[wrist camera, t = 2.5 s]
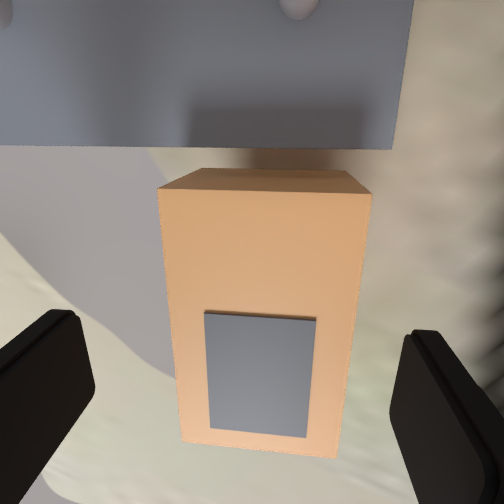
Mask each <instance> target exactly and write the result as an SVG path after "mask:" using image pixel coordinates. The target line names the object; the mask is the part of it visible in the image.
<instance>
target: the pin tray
mask: <svg viewBox="0 0 504 504" xmlns="http://www.w3.org/2000/svg"><path fill="white" fill-rule="evenodd" d="M413 5H414V0H0V145H35V146H127V147H128V146H129V147H212V148H301V149H391V150H392V145H393V139H394V132H395V125H396V119H397V112H398V105H399V99H400V92H401V85H402V78H403V72H404V65H405V58H406V52H407V45H408V38H409V31H410V25H411V18H412V11H413Z"/></svg>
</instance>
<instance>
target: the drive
mask: <svg viewBox="0 0 504 504" xmlns="http://www.w3.org/2000/svg"><path fill="white" fill-rule="evenodd" d="M157 193H158V203H159V214H160V223H161V234H162V244H163V254H164V264H165V274H166V284H167V294H168V304H169V315H170V325H171V334H172V345H173V355H174V364H175V375H176V385H177V395H178V405H179V415H180V425H181V435H182V442H191V443H200V444H209V445H218V446H227V447H236V448H245V449H254V450H263V451H272V452H281V453H290V454H299V455H308V456H317V457H326V458H335V459H337V453H338V445H339V438H340V430H341V423H342V416H343V408H344V401H345V393H346V386H347V378H348V371H349V364H350V356H351V349H352V341H353V334H354V327H355V319H356V312H357V304H358V297H359V290H360V282H361V275H362V267H363V260H364V253H365V245H366V238H367V230H368V223H369V215H370V208H371V201H372V193H371V192H369V191H368V190H367V189H366V188H365V187H364V186H362V185H361V184H360V183H359V182H358V181H357V180H356V179H354V178H353V177H352V176H351V175H350V174H349V173H347V172H346V171H338V170H283V169H228V168H201V169H199V170H197V171H194V172H192V173H190V174H188V175H186V176H183V177H181V178H179V179H177V180H175V181H173V182H170V183H168V184H166V185H164V186H162V187H159V188H157Z"/></svg>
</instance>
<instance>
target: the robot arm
mask: <svg viewBox="0 0 504 504" xmlns="http://www.w3.org/2000/svg"><path fill="white" fill-rule="evenodd" d="M94 392H95V383H94V378H93V374H92V369H91V365H90V360H89V356H88V351H87V347H86V342H85V338H84V334H83V329H82V325H81V320H80V318H79V317H78V316H77V315H75V313H74V312H73V311H72V310H60V309H51V310H49V311H47V312H46V313H45V314H44V315H42V316H41V317H40V318H39V319H37V320H36V321H35V322H34V323H32V324H31V325H30V326H29V327H27V328H26V329H25V330H24V331H22V332H21V333H20V334H19V335H17V336H16V337H15V338H14V339H12V340H11V341H10V342H9V343H7V344H6V345H5V346H4V347H2V348H1V349H0V504H19V502H20V501H21V499H22V498H23V497H24V495H25V494H26V492H27V491H28V490H29V488H30V487H31V485H32V484H33V482H34V481H35V480H36V478H37V476H38V475H39V474H40V472H41V471H42V470H43V468H44V467H45V465H46V464H47V462H48V461H49V460H50V458H51V457H52V455H53V454H54V452H55V451H56V449H57V448H58V447H59V445H60V444H61V442H62V441H63V439H64V438H65V437H66V435H67V434H68V432H69V431H70V429H71V428H72V427H73V425H74V424H75V422H76V421H77V419H78V418H79V417H80V415H81V414H82V412H83V411H84V409H85V408H86V407H87V405H88V404H89V402H90V401H91V399H92V398H93V395H94ZM389 414H390V421H391V424H392V427H393V430H394V433H395V436H396V439H397V442H398V445H399V448H400V450H401V453H402V456H403V459H404V462H405V465H406V468H407V471H408V473H409V476H410V479H411V482H412V485H413V488H414V491H415V494H416V497H417V499H418V502H419V504H504V418H503V417H502V415H501V414H500V413H499V411H498V410H497V409H496V407H495V406H494V404H493V403H492V402H491V400H490V399H489V398H488V396H487V395H486V394H485V392H484V391H483V390H482V389H481V388H480V387H479V386H478V385H477V384H476V383H475V381H474V380H473V378H472V377H471V376H470V374H469V373H468V371H467V370H466V369H465V367H464V366H463V365H462V363H461V362H460V360H459V359H458V358H457V356H456V355H455V354H454V352H453V351H452V349H451V348H450V347H449V345H448V344H447V342H446V341H445V340H444V338H443V337H442V336H441V334H440V333H439V332H438V331H434V330H416V329H415V330H413V331H412V333H411V335H409V334H407V335H406V336H405V338H404V342H403V347H402V351H401V356H400V361H399V366H398V371H397V375H396V380H395V385H394V390H393V394H392V399H391V404H390V410H389Z"/></svg>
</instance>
